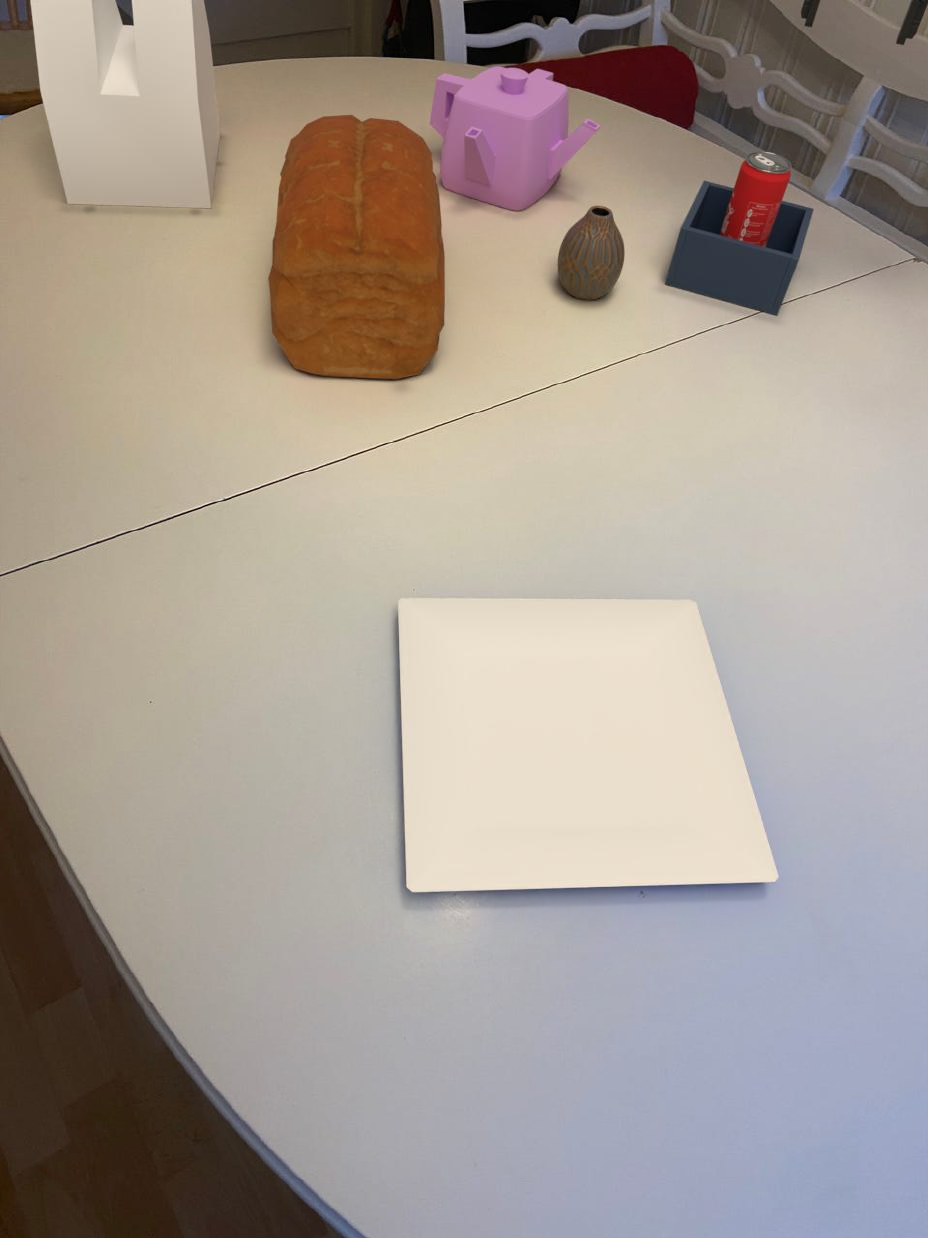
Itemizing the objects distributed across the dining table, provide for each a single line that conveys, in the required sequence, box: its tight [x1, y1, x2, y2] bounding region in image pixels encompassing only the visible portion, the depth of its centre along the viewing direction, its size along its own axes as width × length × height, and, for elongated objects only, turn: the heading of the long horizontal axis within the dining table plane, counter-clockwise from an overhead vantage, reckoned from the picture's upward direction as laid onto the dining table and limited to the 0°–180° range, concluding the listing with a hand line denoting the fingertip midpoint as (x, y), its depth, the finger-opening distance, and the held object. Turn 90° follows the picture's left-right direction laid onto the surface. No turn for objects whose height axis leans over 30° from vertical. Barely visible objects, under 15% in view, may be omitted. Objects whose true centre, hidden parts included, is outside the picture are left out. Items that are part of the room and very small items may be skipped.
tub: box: [664, 180, 814, 316], centre depth 103 cm, size 13×13×6 cm
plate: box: [397, 597, 780, 893], centre depth 62 cm, size 22×22×2 cm
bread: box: [267, 114, 446, 380], centre depth 89 cm, size 16×27×16 cm, turn 3°
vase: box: [556, 205, 626, 301], centre depth 97 cm, size 7×7×9 cm
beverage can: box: [719, 151, 792, 247], centre depth 100 cm, size 5×5×12 cm
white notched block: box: [30, 0, 221, 209], centre depth 100 cm, size 19×15×25 cm
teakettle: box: [429, 65, 601, 212], centre depth 110 cm, size 17×17×12 cm
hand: (853, 33), depth 87 cm, fingers open, 8 cm apart
